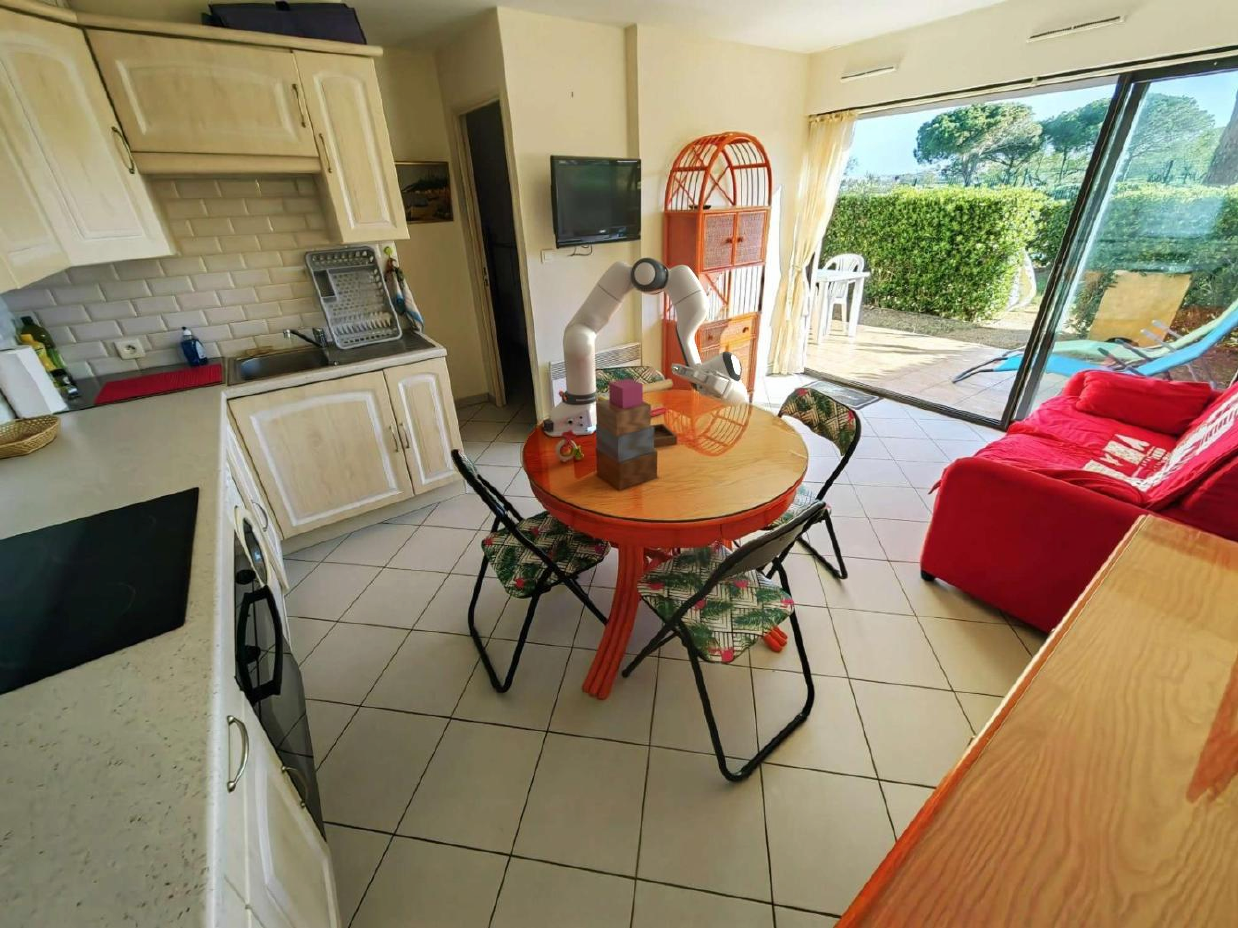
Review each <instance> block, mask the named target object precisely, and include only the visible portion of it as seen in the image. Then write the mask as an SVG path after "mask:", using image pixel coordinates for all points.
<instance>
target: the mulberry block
mask: <svg viewBox="0 0 1238 928" xmlns="http://www.w3.org/2000/svg"><path fill="white" fill-rule="evenodd" d="M673 386H674V383H673V380H672V379H671V378H667V379H663V380H658V381H653V382H649V383H645V384H643V383H641V382H638V381H636V380H633V379H632V378H625V379H620V380H616V381H611V382H608V392H609V401H610V403H612V404H614V405H616V406H618V407H620V408H622V409H624V408H628V407H632V406H636V405H640V404H643V402H644V401H643V395H644V394H649V393H653V392H657V391H662V390H665V389H670V388H672V387H673Z"/></svg>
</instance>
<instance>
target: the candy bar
mask: <svg viewBox="0 0 1238 928" xmlns="http://www.w3.org/2000/svg"><path fill="white" fill-rule="evenodd" d="M668 409H669V408H668V407H666V406H657V407H654V408H651V417H654V416H657V415H661V414H664V413H667V411H668Z"/></svg>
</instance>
